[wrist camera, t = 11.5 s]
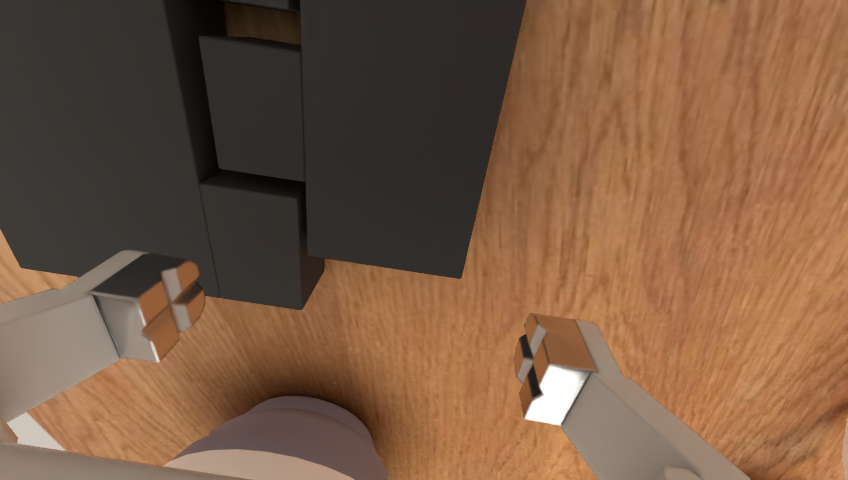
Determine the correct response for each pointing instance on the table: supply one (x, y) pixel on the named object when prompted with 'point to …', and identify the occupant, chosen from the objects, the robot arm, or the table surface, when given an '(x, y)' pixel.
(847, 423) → the cup
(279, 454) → the bowl
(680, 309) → the table surface
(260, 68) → the black stepped block
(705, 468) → the robot arm
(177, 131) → the base pad
